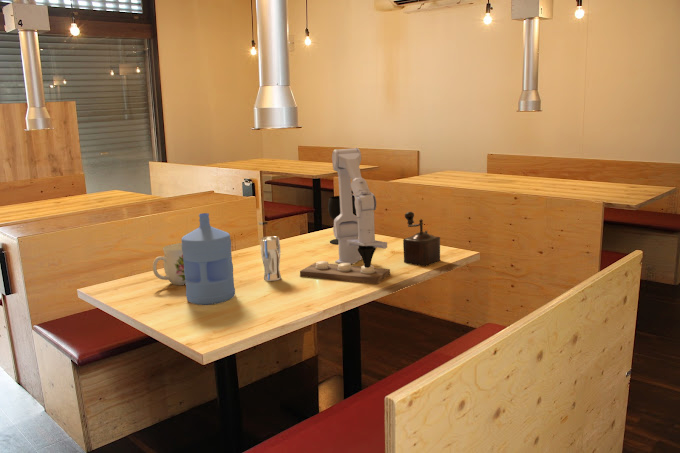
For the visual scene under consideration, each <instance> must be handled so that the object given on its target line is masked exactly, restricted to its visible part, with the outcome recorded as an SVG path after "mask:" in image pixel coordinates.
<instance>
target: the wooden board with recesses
mask: <svg viewBox="0 0 680 453" xmlns="http://www.w3.org/2000/svg"><path fill="white" fill-rule="evenodd" d="M338 264H339V263H328V265H329V268H328V269H325V270H318V269H316V267H315V266H316V262H314V263H312V264H310V265H309V266H307V267H305V268H303V269H301V270H299V276H300V277H303V278H304V277H305V278H314V279H322V280H332V281H333V280H334V281H344V282H353V283H354V282H355V283H364V284H372V285H374V284H375V285H378V284H380V282H382V281H383V280H385V279H386V278H387V277H389V276H390V275H391V269H390V268H383V267H381V268H380V267H374V270H375V273H373V274H362V273H361V266H358V265H351V268H352V270H351V271H348V272H340V271H338ZM388 275H389V276H388Z"/></svg>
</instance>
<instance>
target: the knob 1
mask: <svg viewBox="0 0 680 453" xmlns="http://www.w3.org/2000/svg"><path fill="white" fill-rule="evenodd" d="M315 263H316V266H315V267H316V269H318V270H325V269H328V268H329V265H328V264H329V261H327V260H318V261H316V262H315Z"/></svg>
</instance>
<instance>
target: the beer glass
mask: <svg viewBox="0 0 680 453" xmlns="http://www.w3.org/2000/svg"><path fill="white" fill-rule="evenodd" d="M281 252H282V251H281V243H280V237H279V236H275V235H271V236H270V235H269V236H264V237H261V238H260V255H261V259H262V264H263V268H264V274H263V279H264V280H263V281H266V282H276V281H279V280H282V275H281V271H280V263H281Z"/></svg>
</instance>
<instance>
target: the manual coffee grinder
mask: <svg viewBox="0 0 680 453" xmlns="http://www.w3.org/2000/svg"><path fill="white" fill-rule="evenodd" d="M414 218H415V213H414V212H413V211H407V212H406V213H405V214H404V219H406V220H407V227H408V228H413V227H414V228H415V227H419V229H420V230H419V232H417V233H415V234H414V235H411V236H409V237H406V238H403V239H402V241H403V242H402V243H403V245H402V246H403V247H402V248H403V263H405V264H409V265H414V266H420V267H421V266H422V267H427V266H430V265H433V264H436V263H438V262H440V261H441V236H435V235H432V234H429V233H428V230H425V231H423V230H424V228H423V225H424V220H423V219H422V218H420V219H419V221H418V222H419V223H418V224H416V223H415V221H414ZM413 223H415V224H413Z"/></svg>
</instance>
